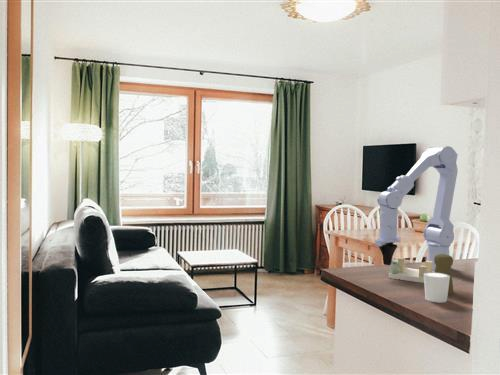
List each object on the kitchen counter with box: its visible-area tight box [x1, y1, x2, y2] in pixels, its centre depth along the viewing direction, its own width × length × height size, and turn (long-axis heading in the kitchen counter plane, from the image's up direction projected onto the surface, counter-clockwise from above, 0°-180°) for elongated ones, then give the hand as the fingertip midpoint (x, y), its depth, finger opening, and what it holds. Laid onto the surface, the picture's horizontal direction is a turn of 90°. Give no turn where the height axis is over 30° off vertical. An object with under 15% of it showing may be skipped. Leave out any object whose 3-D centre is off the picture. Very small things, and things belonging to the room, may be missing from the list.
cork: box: [434, 254, 454, 295], centre depth 135 cm, size 6×6×11 cm
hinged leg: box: [390, 259, 398, 273], centre depth 154 cm, size 9×2×3 cm, turn 163°
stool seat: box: [388, 257, 435, 284], centre depth 152 cm, size 12×12×5 cm
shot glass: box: [423, 271, 450, 304], centre depth 126 cm, size 7×7×7 cm
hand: (387, 264), depth 158 cm, fingers closed, pressing on hinged leg
